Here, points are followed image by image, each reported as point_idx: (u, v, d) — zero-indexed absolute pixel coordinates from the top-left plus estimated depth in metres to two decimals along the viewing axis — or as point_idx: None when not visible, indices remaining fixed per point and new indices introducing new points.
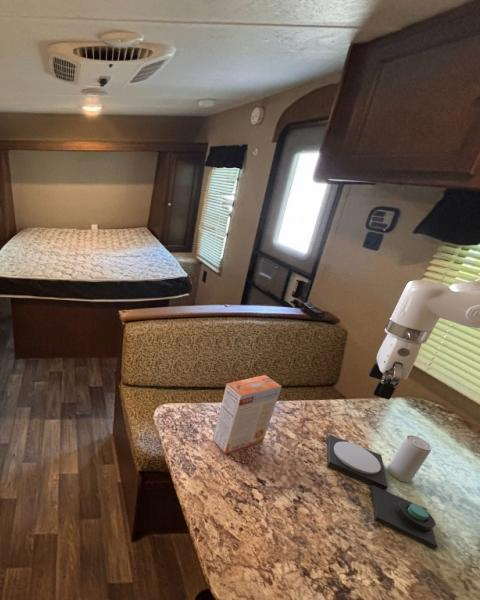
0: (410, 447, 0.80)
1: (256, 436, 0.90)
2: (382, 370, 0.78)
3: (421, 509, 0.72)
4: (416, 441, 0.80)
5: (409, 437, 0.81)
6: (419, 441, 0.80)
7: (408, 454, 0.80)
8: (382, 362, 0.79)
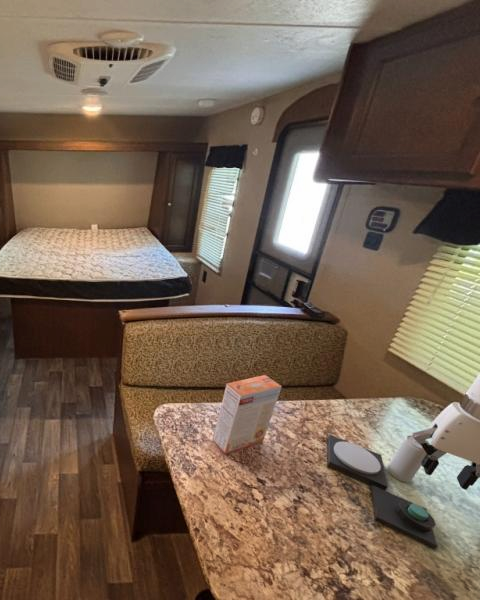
0: (410, 447, 0.80)
1: (256, 436, 0.90)
2: None
3: (421, 509, 0.72)
4: (416, 441, 0.80)
5: (409, 437, 0.81)
6: None
7: (408, 454, 0.80)
8: None
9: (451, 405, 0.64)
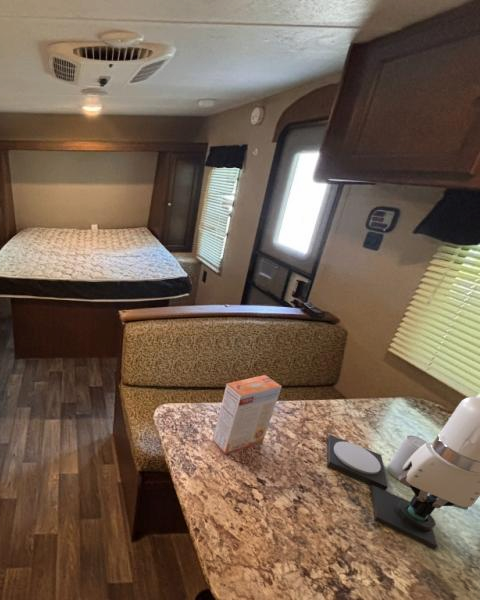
0: (410, 447, 0.80)
1: (256, 436, 0.90)
2: (468, 506, 0.65)
3: None
4: (416, 441, 0.80)
5: (409, 437, 0.81)
6: (419, 441, 0.80)
7: (408, 454, 0.80)
8: (463, 498, 0.65)
9: (424, 446, 0.68)
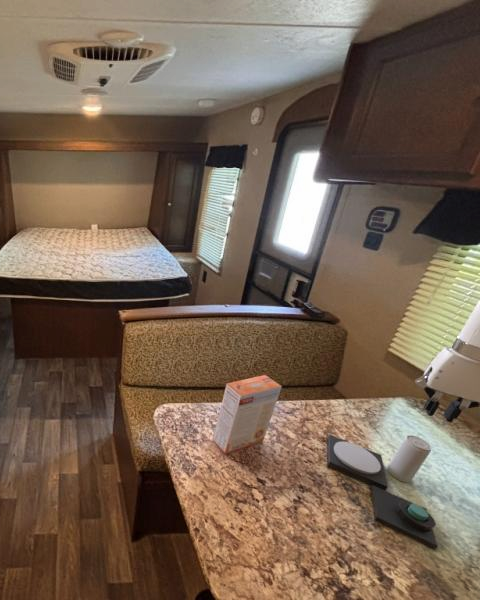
0: (410, 447, 0.80)
1: (256, 436, 0.90)
2: None
3: (421, 509, 0.72)
4: (416, 441, 0.80)
5: (409, 437, 0.81)
6: (419, 441, 0.80)
7: (408, 454, 0.80)
8: None
9: (444, 349, 0.72)
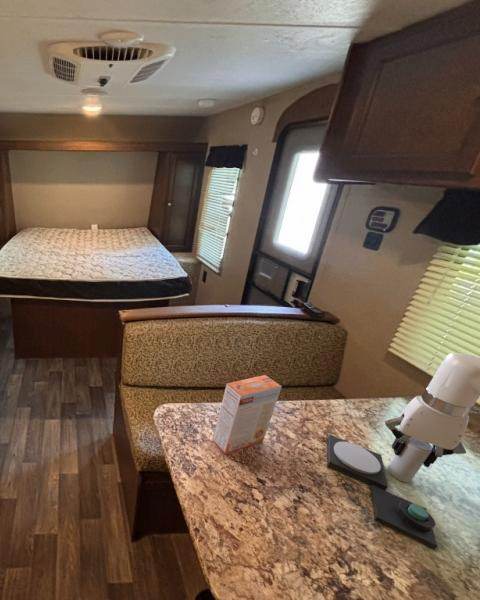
0: (411, 447, 0.80)
1: (256, 436, 0.90)
2: (452, 448, 0.75)
3: (421, 509, 0.72)
4: (417, 441, 0.80)
5: None
6: (420, 441, 0.80)
7: (408, 454, 0.80)
8: (447, 441, 0.75)
9: (415, 398, 0.78)
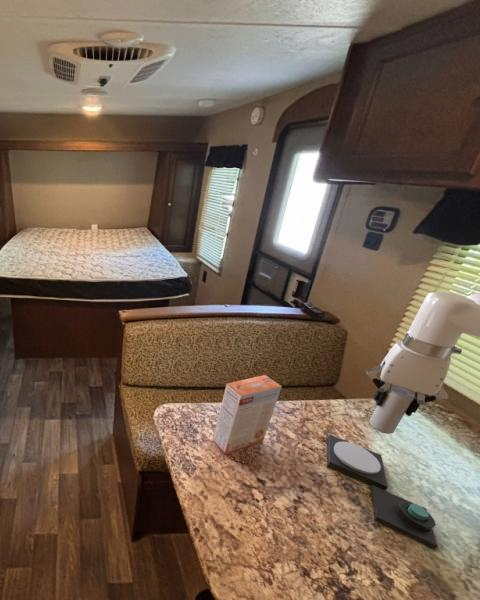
0: (392, 395, 0.77)
1: (256, 436, 0.90)
2: (434, 393, 0.72)
3: (421, 509, 0.72)
4: (399, 389, 0.77)
5: (391, 386, 0.78)
6: (402, 389, 0.77)
7: (390, 403, 0.77)
8: (429, 386, 0.72)
9: (396, 344, 0.75)
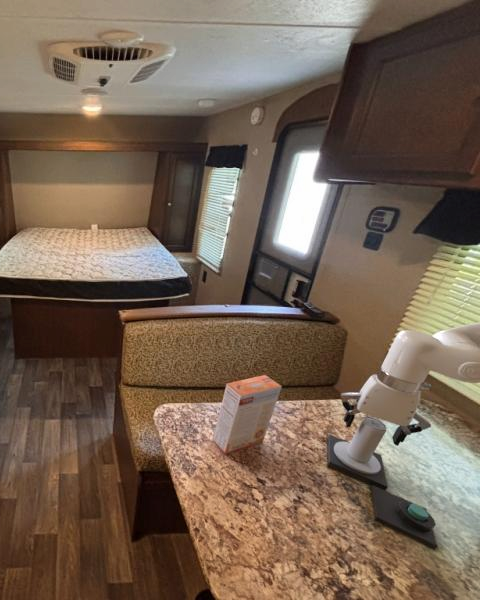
0: (366, 427, 0.81)
1: (256, 436, 0.90)
2: (406, 424, 0.76)
3: (421, 509, 0.72)
4: (373, 422, 0.82)
5: (366, 418, 0.83)
6: (375, 422, 0.82)
7: (364, 434, 0.82)
8: (401, 418, 0.76)
9: (371, 377, 0.80)
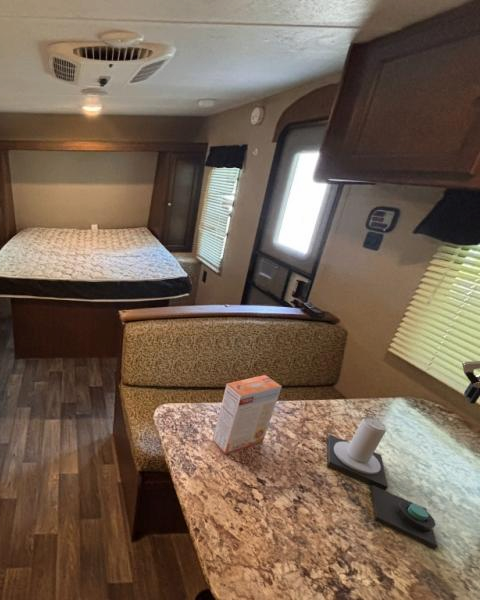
0: (366, 427, 0.81)
1: (256, 436, 0.90)
2: None
3: (421, 509, 0.72)
4: (373, 422, 0.82)
5: (366, 418, 0.83)
6: (375, 422, 0.82)
7: (364, 434, 0.82)
8: None
9: None
